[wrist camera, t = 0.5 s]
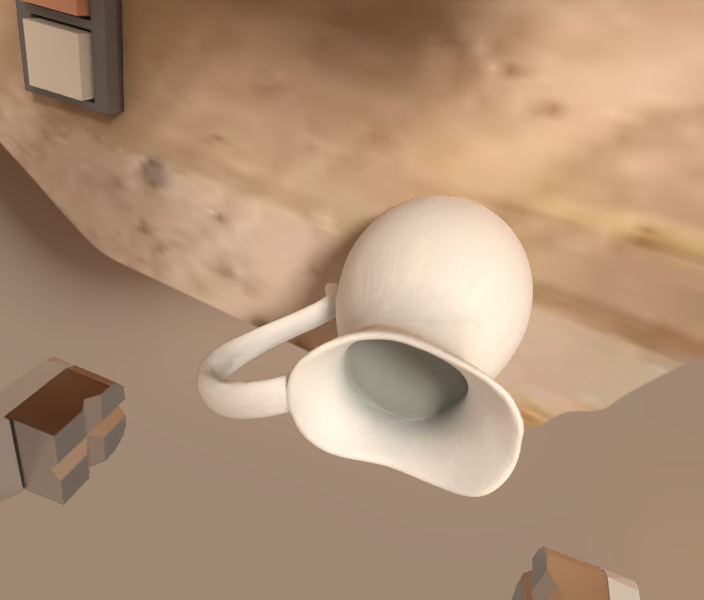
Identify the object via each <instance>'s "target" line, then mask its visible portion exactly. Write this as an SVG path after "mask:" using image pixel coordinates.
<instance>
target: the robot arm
mask: <svg viewBox="0 0 704 600" xmlns="http://www.w3.org/2000/svg"><path fill="white" fill-rule="evenodd" d="M124 399H125V395H124V386H122V385H120V384H118V383H116V382H114V381H111V380H109V379H107V378H104V377H102V376H100V375H97V374H95V373H92V372H90V371H88V370H85V369H83V368H80V367H78V366H76V365H73V364H70V363H68V362H65V361H62V360H60V359H58V358H55V357H51V358H47V359H44V360H42V361H41V362H39V363H38V364H37V365H35V366H34V367H32V368H31V369H30V370H28V371H27V372H26V373H24V374H23V375H21V376H20V377H19V378H17V379H16V380H15V381H13V382H12V383H10V384H9V385H8V386H6V387H5V388H3V389H2V390H1V391H0V502H2V501H5V500H6V499H9V498H11V497H13V496H15V495H17V494H20V493H22V492H23V489H25V490H27V491H30V492H33V493H35V494H38V495H40V496H43V497H45V498H48V499H50V500H53V501H55V502H58V503H60V504H63V505H64V504H65V503H66V502H67V501H68V500H69V499H70V498H71V497H72V496H73V494H75V492H76V491H77V490H78V489H79V488H80V487H81V486H82V485H83V484H84V483H85V482H86V481H87V480H88V479H89V474H90V466H93V465H96V464H98V463H101V462H104V461H106V460H107V459H108V457H109V456H110V455H111V454H112V453H113V452H114V451H115V450H116V447H117V446H118V444H119V442H120V441H121V439H122V437H123V434H124V430H125V425H126V416H125V414H124V413H123V411H122V409H121V408H120V406H119V404H120V403H121V402H122V401H123V400H124ZM512 600H640V596H639V590H638V587H637V585H636V583H635V582H634V581H633V580H630V579H627V578H625V577H622V576H620V575H617V574H614V573H612V572H609V571H607V570H604V569H601V568H600V567H597V566H595V565H592V564H589V563H587V562H584V561H581V560H579V559H576V558H573V557H571V556H568V555H565V554H562V553H560V552H557V551H554V550H552V549H549V548H546V547H541V548H540V549H538V551H537V552H536V554H535V555H534V557H533V563H532V571H529V572H525V573H523V575H522V576H521V578H520V580H519V582H518V583H517V586H516V589H515V592H514V595H513V598H512Z"/></svg>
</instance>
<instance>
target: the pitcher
mask: <svg viewBox="0 0 704 600" xmlns="http://www.w3.org/2000/svg"><path fill="white" fill-rule="evenodd" d="M325 294H326V296H325V297H324V298H322V299H321V300H319V301H317V302H315V303H313V304H311V305H309V306H307V307H305V308H303V309H301V310H298V311H296V312H294V313H292V314H289V315H287V316H285V317H282V318H280V319H278V320H275V321H273V322H270V323H268V324H265V325H263V326H261V327H259V328H256V329H254V330H252V331H250V332H248V333H245V334H243V335H241V336H238V337H236V338H234V339H232V340H230V341H228V342H226V343H224V344H223V345H221V346H219V347H218V348H217V349H215V350H214V351H212V352H211V353H210V354H209V355H208V356H207V357H205V359H204V360H203V361H202V362H201V364H200V366H199V368H198V372H197V382H196V383H197V388H198V392H199V394H200V396H201V398H202V400H203V401H204V403H205V404H206V405H207V406H208V407H209V408H210V409H211V410H212V411H214V412H216V413H218V414H220V415H222V416H225V417H229V418H235V419H256V418H263V417H270V416H275V415H280V414H284V413H289V412H290V413H291V415H292V417H293V419H294V421H295V423H296V425H297V427H298V429H299V430H300V432H301V433H302V434H303V435H304V436H305V438H306V439H308V440H309V441H310V442H311V443H312V444H314V445H315V446H317V447H318V448H320V449H321V450H324V451H326V452H328V453H330V454H334V455H337V456H340V457H344V458H350V459H355V460H361V461H365V462H371V463H376V464H380V465H385V466H388V467H391V468H394V469H396V470H399V471H401V472H404V473H406V474H409V475H411V476H414V477H417V478H419V479H421V480H423V481H425V482H428V483H430V484H433V485H435V486H438V487H440V488H443V489H445V490H448V491H450V492H453V493H456V494H459V495H463V496H473V497H479V496H483V495H487V494H489V493H491V492H493V491H494V490H496V489H497V488H498V487H499V486H501V484H503V483H504V482H505V480H506V479H507V478H508V477H509V476H510V474H511V473H512V471H513V469H514V467H515V465H516V463H517V461H518V457H519V454H520V449H521V442H522V437H523V433H524V426H523V419H522V415H521V411H520V409H519V407H518V405H517V403H516V401H515V399H514V398H513V396H512V395H511V394H510V393H509V392H508V390H507V389H506V388H505V387H504V386H502V385H501V384H500V383H499V382H497V381H496V380H495V379H494V378H495V377H496V376H497V375H498V374H499V373H500V372H501V371H502V369H503V368H504V367H505V366H506V364H507V363H508V362H509V360H510V359H511V357H512V356H513V354H514V353H515V351H516V350H517V348H518V346H519V344H520V342H521V340H522V338H523V336H524V333H525V331H526V328H527V325H528V322H529V318H530V313H531V307H532V295H533V285H532V276H531V270H530V266H529V262H528V259H527V256H526V253H525V251H524V249H523V247H522V245H521V243H520V241H519V240H518V238H517V237H516V235H515V234H514V232H513V231H512V230H511V229H510V228H509V226H508V225H507V224H506V223H505V222H504V221H503V220H502V219H501V218H500V217H498V216H497V215H496V214H494V213H493V212H492V211H490V210H489V209H487V208H485V207H483V206H481V205H479V204H477V203H475V202H472V201H469V200H466V199H463V198H459V197H453V196H440V195H436V196H425V197H419V198H415V199H412V200H409V201H406V202H403V203H401V204H399V205H397V206H395V207H393V208H391V209H389V210H388V211H386V212H385V213H383V214H382V215H380V216H379V217H378V218H377V219H375V220H374V221H373V222H372V223H371V224H370V225H369V226H368V227H367V228H366V229H365V230H364V231H363V233H362V234H361V235H360V236H359V238H358V239H357V241H356V242H355V244H354V245H353V247H352V249H351V250H350V252H349V254H348V256H347V259H346V261H345V264H344V267H343V270H342V273H341V277H340V281H339V285H338V284H336V283H332V282H330V283H327V284H326V286H325ZM334 317H336V325H337V334H338V337H337V338H335V339H332V340H330V341H328V342H325V343H323V344H321V345H319V346H318V347H316V348H314V349H313V350H311V351H310V352H308V353H307V354H306V355H305V356H303V357H302V358H301V359H300V360H299V361H298V362H297V363H296V365H295V366H294V368H293V369H292V371H291V373H289V374H285V375H282V376H279V377H274V378H270V379H265V380H259V381H246V382H238V381H227V379H228V377H229V376H231V374H233V373H234V372H235V371H236V370H237V369H239V368H240V367H241V366H243V365H244V364H246V363H247V362H249V361H250V360H252V359H254V358H255V357H257V356H259V355H261V354H262V353H264V352H266V351H268V350H270V349H272V348H274V347H276V346H278V345H280V344H282V343H284V342H286V341H288V340H290V339H292V338H294V337H296V336H299V335H301V334H303V333H306V332H308V331H310V330H312V329H314V328H317V327H319V326H321V325H323V324H325V323H327V322H328V321H330V320H332V319H333V318H334Z"/></svg>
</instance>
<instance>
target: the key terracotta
mask: <svg viewBox="0 0 704 600" xmlns="http://www.w3.org/2000/svg"><path fill="white" fill-rule="evenodd" d="M21 1H25V2H28V3H32V4H35V5H39V6H43V7H46V8H50V9H53V10H57V11H60V12H64V13H68V14H71V15H75V16H91V12H90V0H21Z"/></svg>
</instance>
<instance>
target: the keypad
mask: <svg viewBox="0 0 704 600" xmlns="http://www.w3.org/2000/svg"><path fill="white" fill-rule="evenodd" d="M16 8H17V17H18V27H19V36H20V45H21V54H22V63H23V73H24V82H25V90H27V91H31V92H34V93H37V94H40V95H44V96H47V97H50V98H53V99H57V100H60V101H63V102H66V103H70V104H73V105H76V106H79V107H83V108H86V109H89V110H92V111H96V112H99V113H102V114H105V115H111V114H115V113H119V112H123V111H124V101H123V48H122V0H90V12H91V16H75V15H71V14H68V13H64V12H60V11H57V10H53V9H50V8H46V7H43V6H39V5H35V4H32V3H28V2H25V1H21V0H16ZM23 18H42V19H46V20H49V21H53V22H56V23H60V24H64V25H67V26H71V27H74V28H78V29H81V30H85V31H88V32H91V34H92V56H93V78H94V98H93V99H89V100H84V101H80V100H77V99H74V98H71V97H67V96H64V95H61V94H58V93H54V92H51V91H48V90H45V89H41V88H38V87H35V86H31V85H30V83H29V74H28V64H27V55H26V45H25V36H24V26H23Z"/></svg>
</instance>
